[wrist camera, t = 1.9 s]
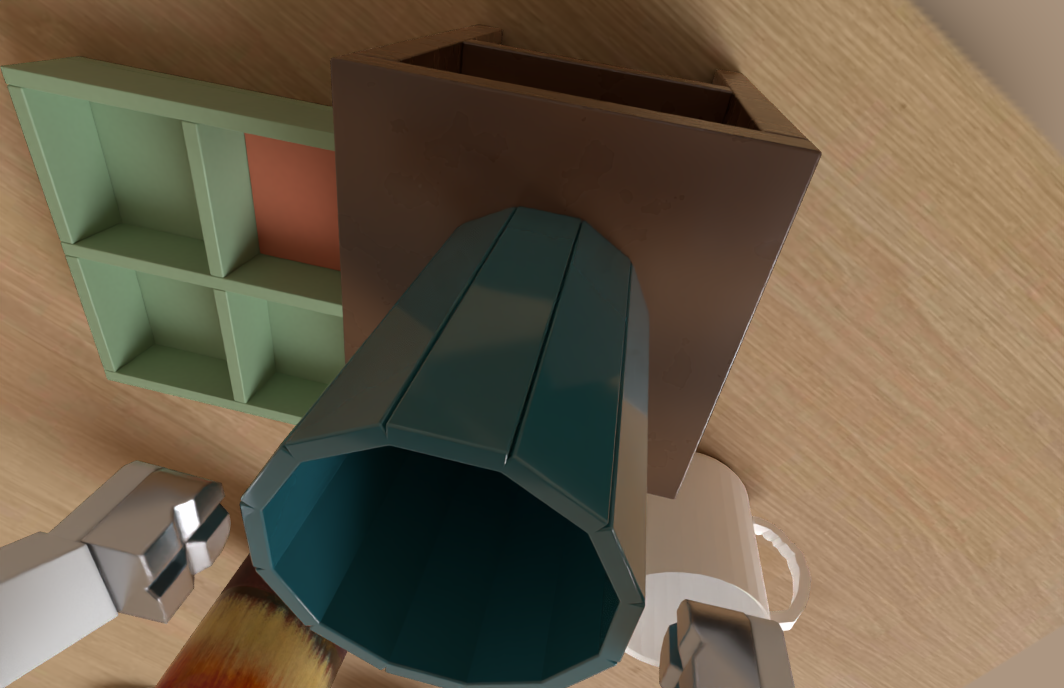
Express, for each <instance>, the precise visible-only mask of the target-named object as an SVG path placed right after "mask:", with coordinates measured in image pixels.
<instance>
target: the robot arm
mask: <svg viewBox="0 0 1064 688" xmlns="http://www.w3.org/2000/svg"><path fill="white" fill-rule="evenodd" d="M224 497H225V494H224V490H223V487H222V483H219V482H216V481H212V480H208V479H204V478H201V477H197V476H193V475H189V474H186V473H182V472H178V471H175V470H171V469H167V468H165V467H161V466H157V465H153V464H149V463H145V462H141V461H137V460H136V461H134V462H131V463H129V464H127V465H124V466H123V467H122V468H121V469H120V470H118V471H117V472H116V473H115V474H114V475H113V476H112V477H111V478H110V479H108V480H107V481H106V482H105V483H104V484H103V485H102V486H101V487H99V488H98V489H97V490H96V491H95V492H94V493H93V494H92V495H90V496H89V497H88V498H87V499H86V500H85V501H84V502H83V503H81V504H80V505H79V506H78V507H77V508H76V509H75V510H74V511H72V512H71V513H70V514H69V515H68V516H67V517H66V518H65V519H64V520H62V521H61V522H60V523H59V524H58V525H57V526H56V527H55V528H53V529H52V530H51V531H50V532H49V533H44V532H37V533H35V534H32V535H30V536H27V537H25V538H22V539H20V540H18V541H15V542H13V543H10V544H8V545H5V546H3V547H1V548H0V688H4V687H6V686H7V685H9V684H11V683H12V682H14V681H15V680H17V679H18V678H20V677H22V676H23V675H25V674H26V673H28V672H30V671H31V670H33V669H34V668H36V667H37V666H39V665H41V664H42V663H44V662H45V661H47V660H49V659H50V658H52V657H53V656H55V655H56V654H58V653H60V652H61V651H63V650H64V649H66V648H68V647H69V646H71V645H72V644H74V643H75V642H77V641H79V640H80V639H82V638H83V637H85V636H87V635H88V634H90V633H91V632H93V631H94V630H96V629H98V628H99V627H101V626H102V625H104V624H106V623H107V622H109V621H110V620H112V619H113V618H115V617H117V616H118V613H117V612H119V613H123V614H127V615H132V616H136V617H140V618H144V619H148V620H152V621H157V622H161V623H165V624H167V623H168V621H169V620H170V619H171V618H172V616H173V615H174V614H175V612H176V611H177V610H178V609H179V607H180V606H181V605H182V603H183V602H184V601H185V599H186V598H187V597H188V596H189V594H190V593H191V592H192V590H193V589H194V575H195V574H197V573H199V572H201V571H202V570H204V569H206V568H208V567H210V566H212V564H213V563H214V562H215V560H216V559H217V557H218V556H219V555H220V553H221V552H222V550H223V548H224V546H225V544H226V541H227V539H228V537H229V534H230V526H231V521H230V516H229V513H228V512H227V510H226V509H225V508H224V507H223V506H222V505H221V504H220V502H221V500H222V499H223V498H224ZM659 684H660V686H661V687H662V688H795V685H794V681H793V676H792V671H791V666H790V662H789V657H788V652H787V648H786V643H785V638H784V633H783V630H782V628H781V626H780V625H779V623H778V622H776V621H773V620H769V619H764V618H760V617H756V616H751V615H747V614H744V612H739V611H735V610H731V609H727V608H722V607H718V606H714V605H709V604H705V603H701V602H697V601H692V600H688V599H685V600H683V601H682V602H681V603H680V605H679V607H678V609H677V623H674V624H672V625H669V627H668V629H667V631H666V634H665V636H664V639H663V644H662V648H661V653H660V665H659Z"/></svg>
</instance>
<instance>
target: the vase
mask: <svg viewBox="0 0 1064 688" xmlns="http://www.w3.org/2000/svg"><path fill="white" fill-rule="evenodd" d="M255 568H256V567H254V566H253V565H252V561H251V556H250V553H249V555H248V556H247V558H246V559H245V560H244V562H243V563H242V565H241V566H240V567H239V569H238V570H237V572H236V573H235V574H234V576H233V577H232V579H231V580H230V581H229V583H228V584H227V586H226V587H225V588H224V590H223V591H222V593H221V594H220V596H219V597H218V598H217V600H216V601H215V603H214V604H213V605H212V607H211V608H210V610H209V611H208V612H207V614H206V615H205V617H204V618H203V620H202V621H201V622H200V624H199V625H198V627H197V628H196V629H195V631H194V632H193V634H192V635H191V636H190V638H189V639H188V641H187V642H186V644H185V645H184V646H183V648H182V649H181V651H180V652H179V653H178V655H177V656H176V658H175V659H174V661H173V662H172V663H171V665H170V666H169V668H168V669H167V670H166V672H165V673H164V675H163V676H162V678H161V679H160V681H159V682H158V683H157V685H156V686H155V688H331V686H332V684H333V681H334V679H335V677H336V675H337V673H338V671H339V668H340V666H341V664H342V662H343V660H344V658H345V655H346V653H347V651H346V650H345V649H343V648H341V647H340V646H338V645H336V644H334V643H333V642H331V641H329V640H327V639H326V638H324V637H322V636H320V635H319V634H317V633H315V632H313V631H312V630H310V629H309V627H310V626H305V625H304V624H303V623H302V622H301V621H300V620H299V619H298V617H297V616H296V615H295V614H294V613H293V612H292V611H291V610H290V609H289V607H288V606H287V605H286V604H285V603H284V602H283V601H282V600H281V599H280V597H279V596H278V595H277V594H276V593H275V592H274V591H273V590H272V589H271V587H270V586H269V585H268V584H267V583H266V582H265V581H264V580H263V579H262V577H261V576H260V575H259V574H258V573H257V572H256V570H255Z"/></svg>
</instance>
